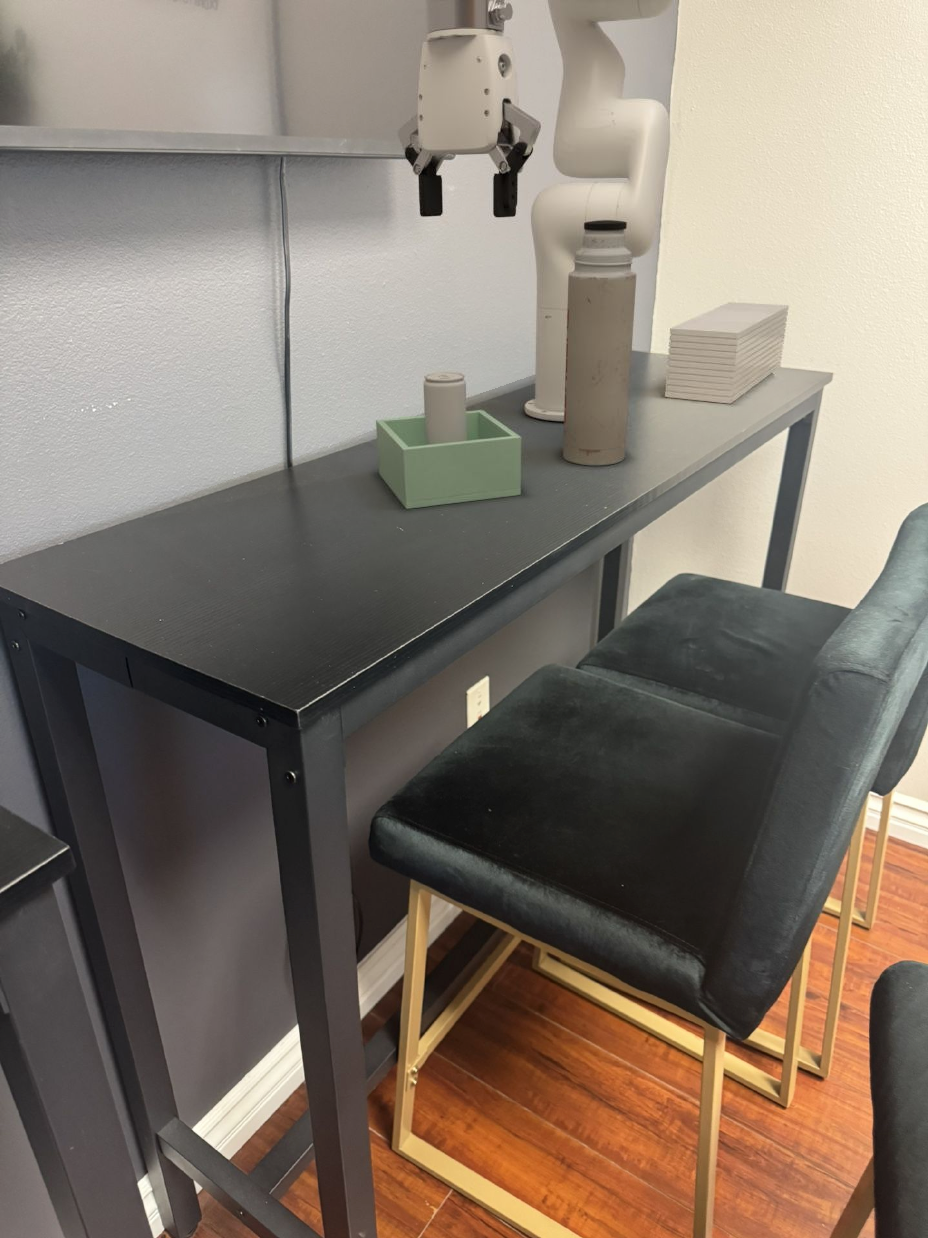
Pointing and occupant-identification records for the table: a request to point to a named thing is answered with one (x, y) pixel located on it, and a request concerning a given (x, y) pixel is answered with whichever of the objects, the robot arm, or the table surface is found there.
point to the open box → (449, 462)
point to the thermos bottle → (599, 346)
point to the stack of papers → (725, 351)
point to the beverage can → (445, 407)
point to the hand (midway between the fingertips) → (467, 216)
